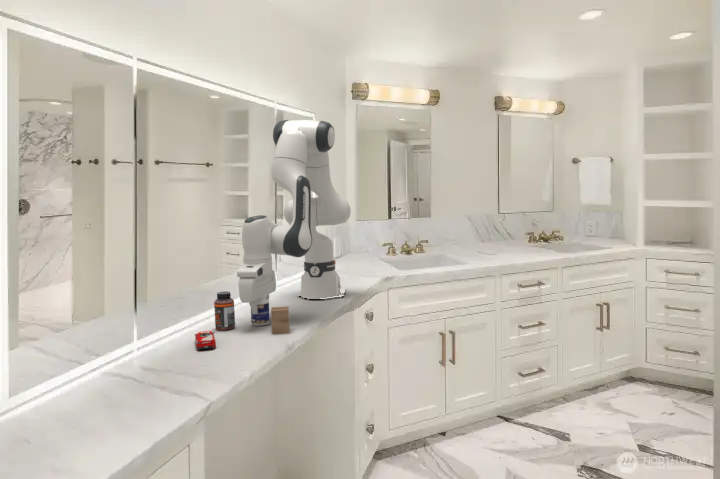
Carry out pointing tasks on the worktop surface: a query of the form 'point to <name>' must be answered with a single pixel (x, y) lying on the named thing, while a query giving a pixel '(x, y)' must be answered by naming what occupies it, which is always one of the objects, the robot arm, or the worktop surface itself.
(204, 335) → the race car
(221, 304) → the supplement bottle
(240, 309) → the worktop surface
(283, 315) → the walnut block
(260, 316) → the pill bottle
